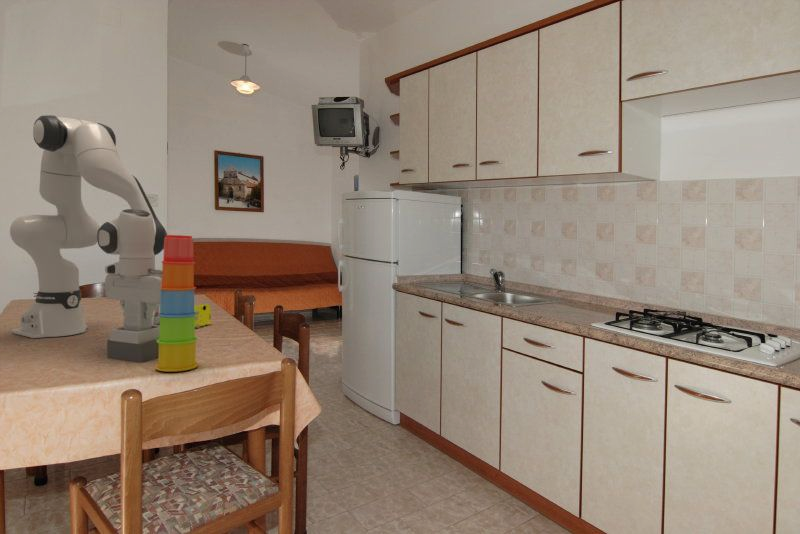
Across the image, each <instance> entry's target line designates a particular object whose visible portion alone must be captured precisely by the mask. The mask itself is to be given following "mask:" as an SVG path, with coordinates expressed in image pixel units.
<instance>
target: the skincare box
mask: <svg viewBox="0 0 800 534" xmlns="http://www.w3.org/2000/svg"><path fill="white" fill-rule="evenodd" d="M132 294H133V293H132ZM147 309H148V307H147V303H144V302H141V295H140V294H133V295H129V296H125V299H124V310H123V327H124V330H126V331H135V332H140V331H144V330H148V329H151V325H152V318H151V319H145V318H144V312H146V311H147Z"/></svg>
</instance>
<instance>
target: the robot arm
mask: <svg viewBox="0 0 800 534" xmlns="http://www.w3.org/2000/svg"><path fill="white" fill-rule="evenodd" d="M32 135H33V136H32V137H33V140H34V142H35V144H36V145H37V146H38V147H39V148H40V149H42V150H43V152H42V155H41V156H42V157H41V162H40V171H39V173H40V174H39V190H38V191H39V194H40V195H39V196H41V198H42V199H43V200H44V201H46V202H47V203H49V204H51V205H53V206H55V207H56V212H57V213H56V214H57V215H56V214H55V215H53V214H50V215H49V214H48V215H47V214H30V215H24V216H19V217H17V218H15V219H14V220H13V221H12V223H11V225H10V228H9V235H10V238H11V240H12V242H13V243H14V244H15V245H16V246H18V248H20V249H22V250H23V251H25V252H26V253H27V254H28V255H29V256H30V257H31V258H32V260H33V262H34V264H35V267H36V270H37V277H38V292H33V295H34V296H33V297H34V298H35V297H36V298H35V299H34V300H35V301H34V302H35V303H33V304H32V306H30V307H29V308H28V309H27V310H25V311H24V312H23V313H22V314H21V315H20V316H21V317H20V326H19V327H16V328H13V329H11V334H16V335H19V336H23V337H27V338H31V339H38V338H39V339H40V338H51V337H52V338H55V337H65V336H73V335H77V334H82V333H85V332H86V331H87V329H88V324H86V319H85V314H84V313H85V312H84V306H83V304H82V303H81V300H82V291H81V289H80V269H79V268H78V266H77V265H76V264H75V263H74V262H72V261H70V260H68V259H66V258H64V257H63V256H62V254H61V250H63V249H64V250H66V249H84V248H88V247H93V246H95V245H96V244H97V245H98V247H99V248H100V249H101V251H103V252H104V253H106V254H108V255H114V256H115V255H118V256H119V258H118V261H116V262H114V263H112V264H109V265H106V266H105V267H104V272H105V274H106V276H105V278H104V293H105V296H106V298H107V299H108V300H115V301H119V305H120V308H122V310H123V311H124V299H125V296H129V295H133V294H140V295H141V302H144V303H147V307H148V309H147V311H146V312H144V318H145V319H151V318H153V311H154V310H155V308H156V304H161V289H160V287H162V269H156V256H157V255H159V254H160V253H161V252H163V251H164V238H165V237H166V235H168V233H167V231H166V228H165V227H164V225H163V224H162V223H161V221H160V220H159V219H158V216H157V215H156V213H155V210H154V209H153V206H152V205H151V203H150V201H149V198H148V196H147V194H146V193H145V190H144V188H143V186H142V185H141V183H140V182H139V180H138V178H137V177H136V176H134V175H133V174H131V173H130V171H129V170H128V169H127V168H126V167H125V166H124V164H123V162H122V161H121V159H120V156H119V152H118V150H117V147H116V145H117V137H116V134H115V132H114V131H113V129H112V128H111V127H110V126H108V125H105V124H103V123H101V122H100V123H99V122H98V123H96V122H93V121H89V120H86V119H81V118H72V117H65V116H56V115H52V114H51V115H49V114H48V115H41V116H39V117H38V118H37V119H36V120H35V122H34V124H33V129H32ZM82 179H84V181H86V183H88V184H90V185H91V186H93V187H95V188H96V189H99V190H103V191H106V192H108V193H111V194H112V195H113V194H114V195H116V196H118V197H120V198H122V199H123V200H124V201H125V202H127V203H128V205H129V207H130V208H128V209H123V210H121V211H120V213H119V216H118V217H116V218H115V219H113V220H110V221H106V222H104V223H102V225H101V226H100V225H99V223H98V222H97V221H96V219H94V218H92V216H90V215H89V213H88V212H87V211H86V209H85V207H84V205H83V200H82ZM132 293H133V294H132Z"/></svg>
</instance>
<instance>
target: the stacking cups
mask: <svg viewBox="0 0 800 534" xmlns="http://www.w3.org/2000/svg"><path fill="white" fill-rule="evenodd" d="M160 262H161V263H162V267H161V270H162V287H160V289H161V313H159V314H158V316H160V332H159V339H158V340H157V343H159V357H158V363H157V365H155V370H157V371H159V372H167V373H171V372H174V373H175V372H184V371H185V372H186V371H189V370H193V369H196V368H198V367H199V362H198V361H196V360H197V357H196V354H197V353H196V342H197V341H198V340H199V338H198V337H197V336H196V327H195V315H196V314H197V313H196V312H194V306H195V290H196V289H197V287H196V286H195V285H194V283H195V278H194V277H195V276H194V274H195V273H194V272H195V270H194V266H195V264H196V261H194V238H193V236H192V235H181V234H176V235H175V234H167V235H166V237H165V238H164V249H163V260H161V261H160Z"/></svg>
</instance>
